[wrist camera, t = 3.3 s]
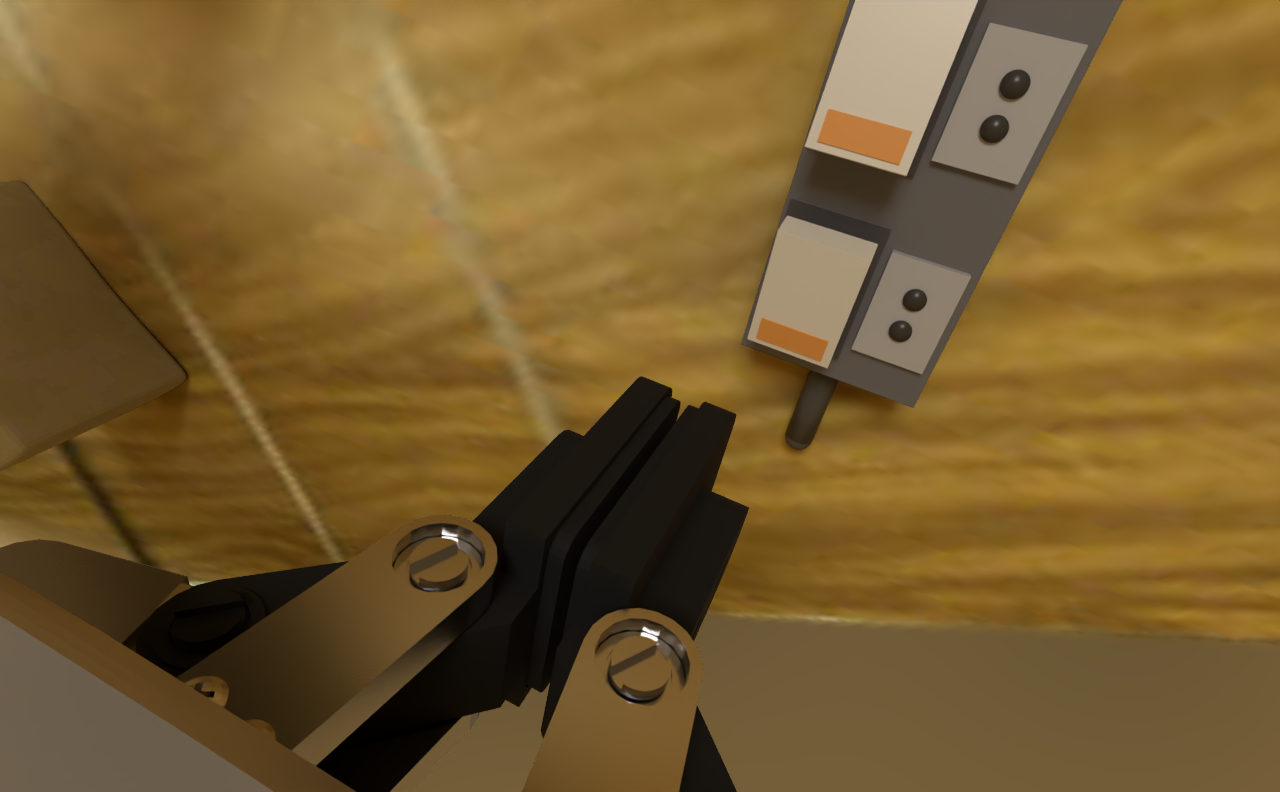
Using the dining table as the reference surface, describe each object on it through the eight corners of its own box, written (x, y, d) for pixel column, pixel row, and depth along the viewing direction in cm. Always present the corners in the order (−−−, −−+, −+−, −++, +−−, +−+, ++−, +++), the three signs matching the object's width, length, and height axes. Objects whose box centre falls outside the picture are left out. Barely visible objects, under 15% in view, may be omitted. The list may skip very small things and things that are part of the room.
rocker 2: (866, -16, 25) (864, -27, 24) (973, 9, 24) (979, -2, 23) (808, 148, 27) (804, 146, 26) (905, 176, 26) (906, 175, 25)
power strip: (883, -60, 28) (870, -73, 24) (1109, -12, 26) (1135, -19, 22) (730, 409, 42) (706, 450, 38) (870, 465, 40) (860, 514, 36)
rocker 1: (787, 215, 29) (777, 230, 28) (878, 244, 28) (871, 260, 27) (755, 323, 33) (746, 339, 32) (834, 351, 32) (827, 369, 31)
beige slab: (4, 202, 63) (-221, 244, 51) (38, 157, 58) (-203, 193, 46) (152, 401, 69) (-19, 481, 57) (194, 377, 64) (17, 459, 52)
